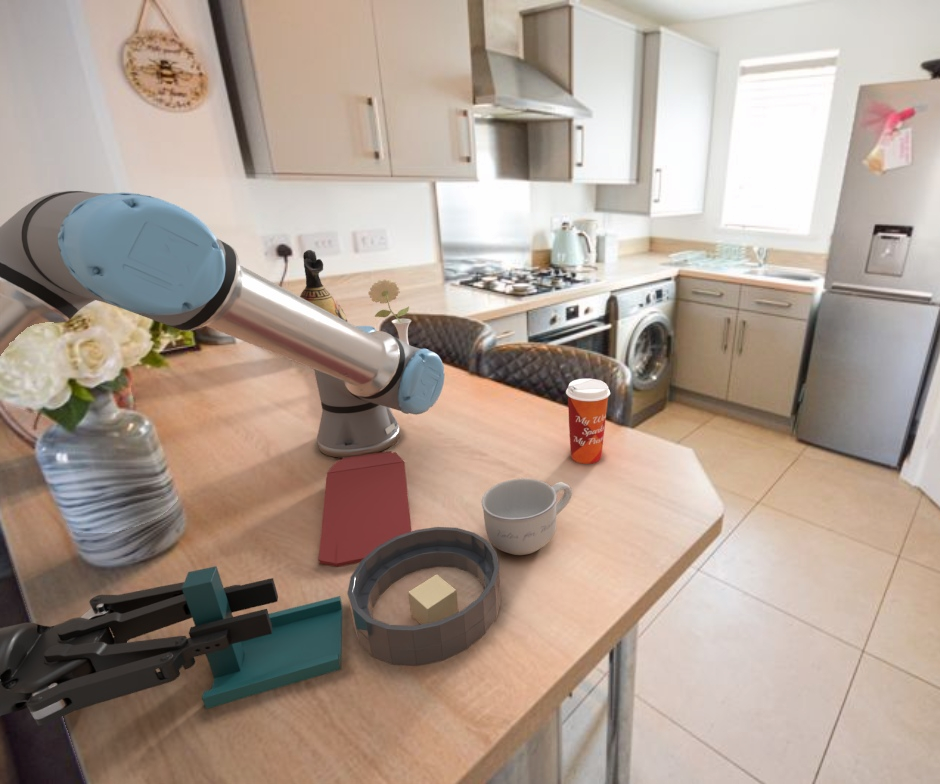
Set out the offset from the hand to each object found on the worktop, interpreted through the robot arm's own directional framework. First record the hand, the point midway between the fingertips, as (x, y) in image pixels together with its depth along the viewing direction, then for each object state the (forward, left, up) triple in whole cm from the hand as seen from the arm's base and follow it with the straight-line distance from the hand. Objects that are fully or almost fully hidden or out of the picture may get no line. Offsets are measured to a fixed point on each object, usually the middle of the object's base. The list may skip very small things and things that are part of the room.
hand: (271, 605), depth 54 cm
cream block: (+9, +16, -5) cm, 19 cm away
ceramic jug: (-100, +54, -8) cm, 114 cm away
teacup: (+7, +32, -8) cm, 34 cm away
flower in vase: (-71, +62, -8) cm, 95 cm away
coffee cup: (-2, +57, -8) cm, 58 cm away
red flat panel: (-17, +20, -8) cm, 28 cm away
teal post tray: (0, 0, -7) cm, 7 cm away
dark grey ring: (+7, +14, -7) cm, 18 cm away
